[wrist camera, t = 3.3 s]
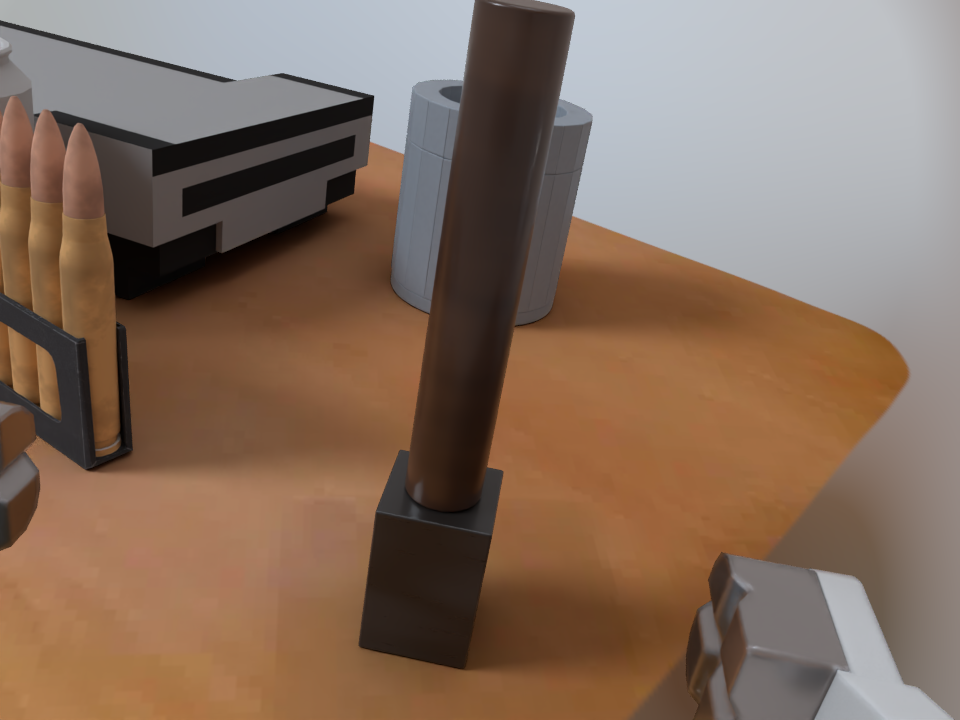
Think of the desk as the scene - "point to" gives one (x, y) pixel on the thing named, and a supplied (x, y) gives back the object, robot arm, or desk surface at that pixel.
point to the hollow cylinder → (428, 192)
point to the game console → (194, 150)
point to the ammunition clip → (59, 292)
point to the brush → (467, 340)
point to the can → (14, 83)
